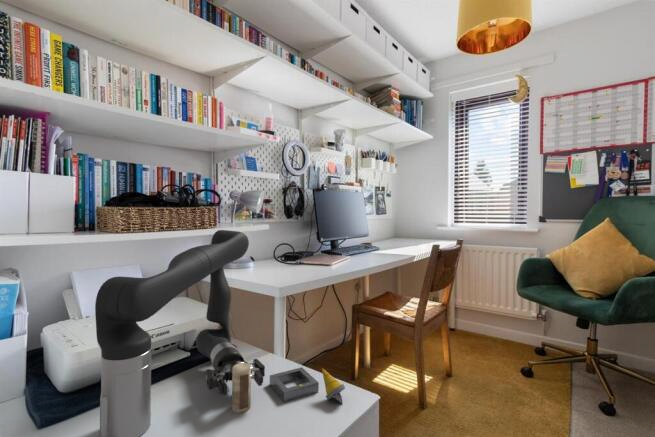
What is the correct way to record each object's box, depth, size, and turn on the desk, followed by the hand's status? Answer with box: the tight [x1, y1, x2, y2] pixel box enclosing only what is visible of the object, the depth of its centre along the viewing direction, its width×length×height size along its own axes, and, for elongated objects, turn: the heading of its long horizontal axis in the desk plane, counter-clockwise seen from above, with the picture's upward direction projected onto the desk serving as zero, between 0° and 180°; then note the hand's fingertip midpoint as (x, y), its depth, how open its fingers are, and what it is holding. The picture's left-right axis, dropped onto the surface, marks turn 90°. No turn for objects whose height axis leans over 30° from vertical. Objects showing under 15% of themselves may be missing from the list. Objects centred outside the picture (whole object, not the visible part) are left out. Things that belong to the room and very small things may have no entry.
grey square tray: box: [269, 367, 320, 403], centre depth 90 cm, size 10×10×3 cm
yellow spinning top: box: [321, 367, 346, 405], centre depth 85 cm, size 5×5×10 cm
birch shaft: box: [231, 362, 252, 414], centre depth 80 cm, size 4×4×10 cm
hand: (243, 386), depth 79 cm, fingers open, 8 cm apart
